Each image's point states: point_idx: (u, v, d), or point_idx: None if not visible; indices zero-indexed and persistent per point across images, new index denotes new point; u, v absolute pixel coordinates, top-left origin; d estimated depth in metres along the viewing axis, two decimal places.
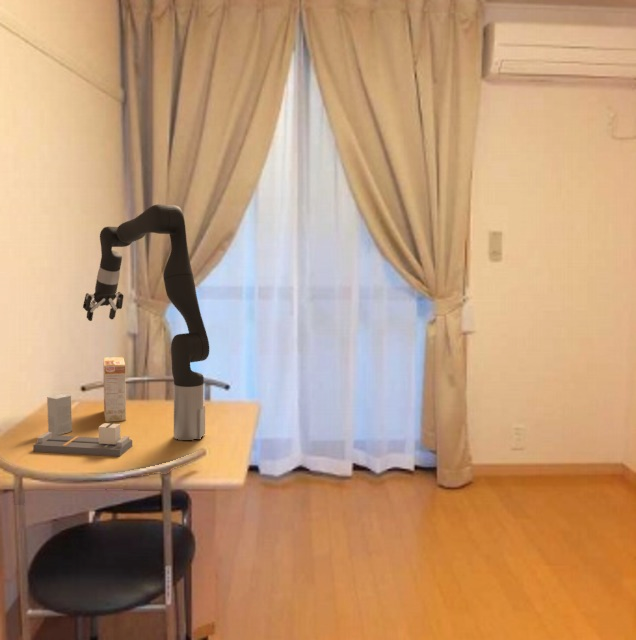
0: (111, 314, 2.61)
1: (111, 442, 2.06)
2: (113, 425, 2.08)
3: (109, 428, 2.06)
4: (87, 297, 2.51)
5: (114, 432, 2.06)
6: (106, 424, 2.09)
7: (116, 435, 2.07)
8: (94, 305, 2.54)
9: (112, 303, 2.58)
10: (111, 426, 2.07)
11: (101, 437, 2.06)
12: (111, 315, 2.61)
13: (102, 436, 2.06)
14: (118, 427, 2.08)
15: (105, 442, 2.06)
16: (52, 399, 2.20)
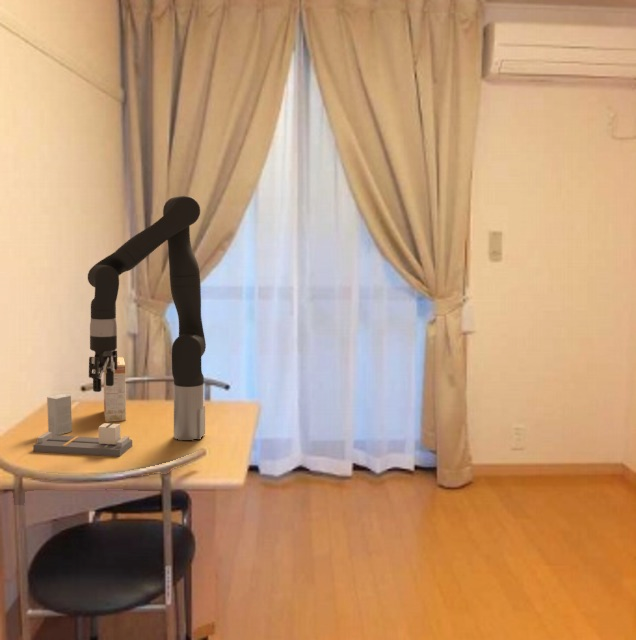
0: (110, 379, 2.10)
1: (111, 442, 2.06)
2: (113, 425, 2.08)
3: (109, 428, 2.06)
4: (94, 360, 1.99)
5: (114, 432, 2.06)
6: (106, 424, 2.09)
7: (116, 435, 2.07)
8: (100, 369, 2.02)
9: (112, 363, 2.08)
10: (111, 426, 2.07)
11: (101, 437, 2.06)
12: (110, 380, 2.10)
13: (102, 436, 2.06)
14: (118, 427, 2.08)
15: (105, 442, 2.06)
16: (52, 399, 2.20)
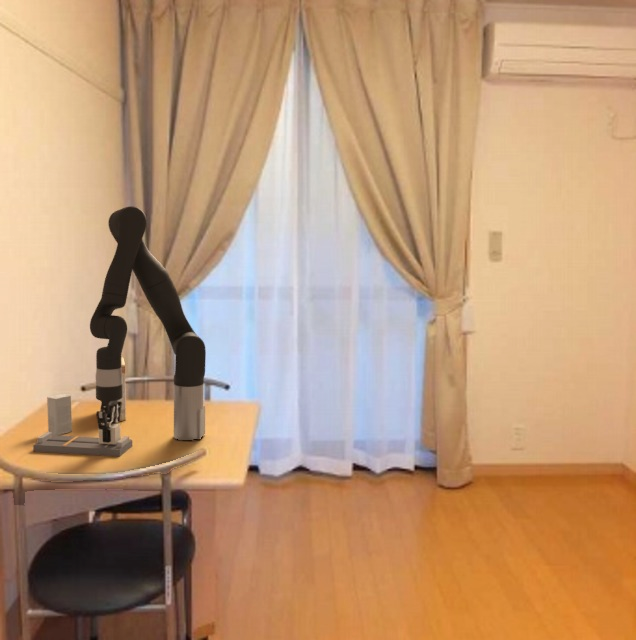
0: None
1: (111, 442, 2.06)
2: (113, 425, 2.08)
3: None
4: (101, 415, 2.01)
5: (114, 432, 2.06)
6: None
7: (116, 435, 2.07)
8: (109, 420, 2.05)
9: (117, 412, 2.09)
10: (111, 426, 2.07)
11: (101, 437, 2.06)
12: None
13: (102, 436, 2.06)
14: (118, 427, 2.08)
15: (105, 442, 2.06)
16: (52, 399, 2.20)
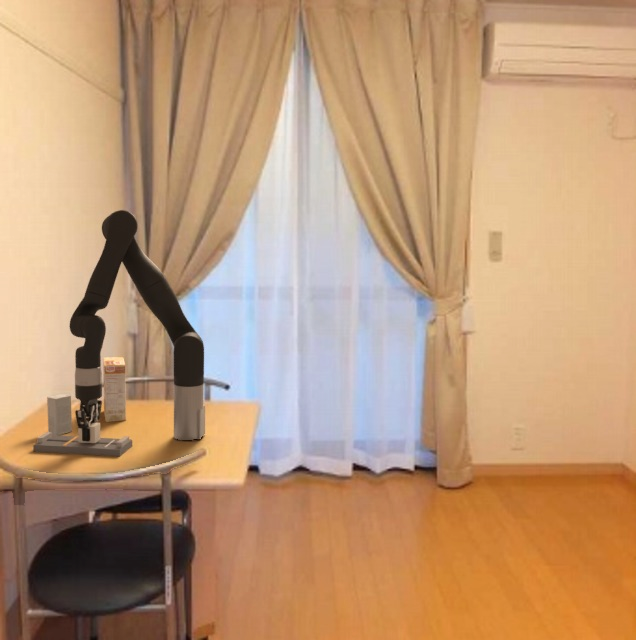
0: None
1: (91, 441, 2.07)
2: (93, 424, 2.08)
3: None
4: (80, 414, 2.01)
5: (93, 431, 2.06)
6: None
7: (96, 434, 2.07)
8: (88, 419, 2.05)
9: (97, 411, 2.09)
10: (91, 425, 2.07)
11: (81, 436, 2.07)
12: None
13: None
14: (98, 426, 2.08)
15: (85, 441, 2.07)
16: (52, 399, 2.20)
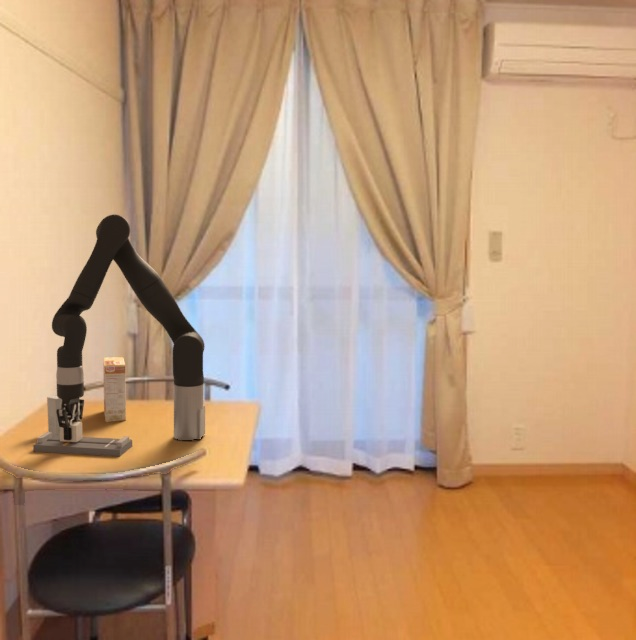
0: None
1: (72, 440, 2.07)
2: (74, 423, 2.09)
3: None
4: (62, 413, 2.02)
5: (75, 430, 2.07)
6: None
7: (77, 433, 2.08)
8: (69, 418, 2.06)
9: (79, 410, 2.10)
10: (72, 424, 2.08)
11: (62, 435, 2.07)
12: None
13: (63, 434, 2.07)
14: (79, 425, 2.09)
15: (66, 440, 2.07)
16: (52, 399, 2.20)
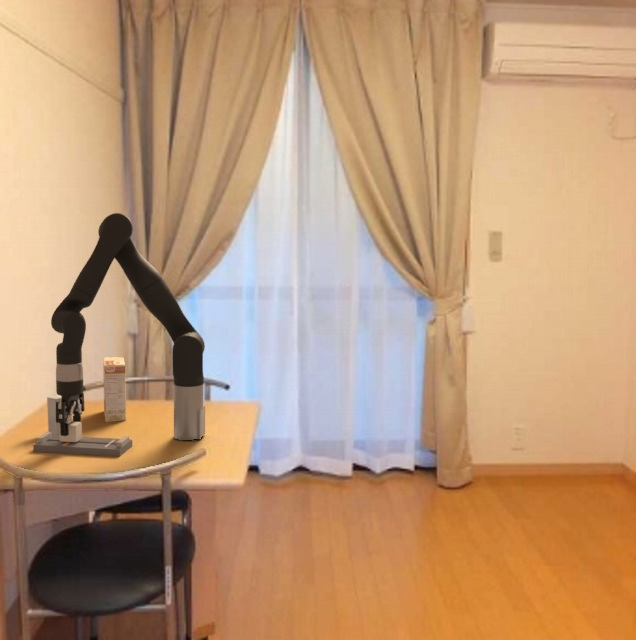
0: (77, 421, 2.12)
1: (72, 440, 2.07)
2: (74, 423, 2.09)
3: (70, 426, 2.07)
4: (61, 405, 2.01)
5: (75, 430, 2.07)
6: None
7: (77, 433, 2.08)
8: (67, 413, 2.04)
9: (79, 405, 2.10)
10: (72, 424, 2.08)
11: None
12: None
13: None
14: (79, 425, 2.09)
15: (66, 440, 2.07)
16: (52, 399, 2.20)
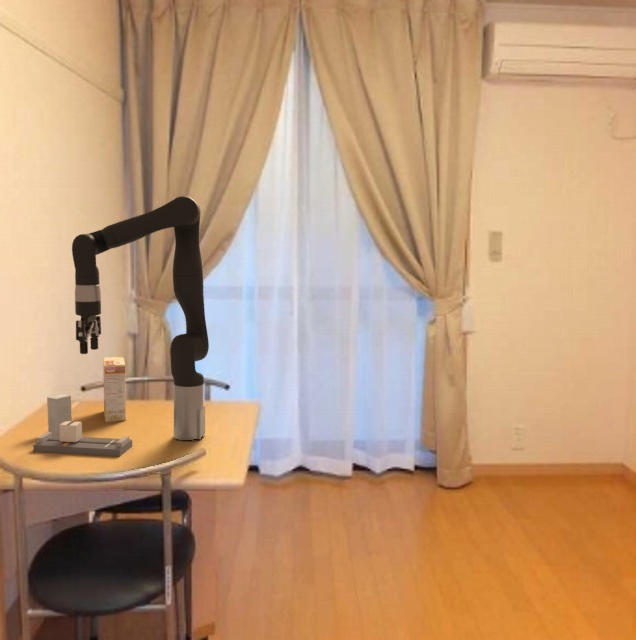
0: (94, 343, 2.22)
1: (72, 440, 2.07)
2: (74, 423, 2.09)
3: (70, 426, 2.07)
4: (81, 323, 2.10)
5: (75, 430, 2.07)
6: (67, 422, 2.10)
7: (77, 433, 2.08)
8: (87, 332, 2.14)
9: (97, 327, 2.20)
10: (72, 424, 2.08)
11: (62, 435, 2.07)
12: (95, 344, 2.22)
13: (63, 434, 2.07)
14: (79, 425, 2.09)
15: (66, 440, 2.07)
16: (52, 399, 2.20)
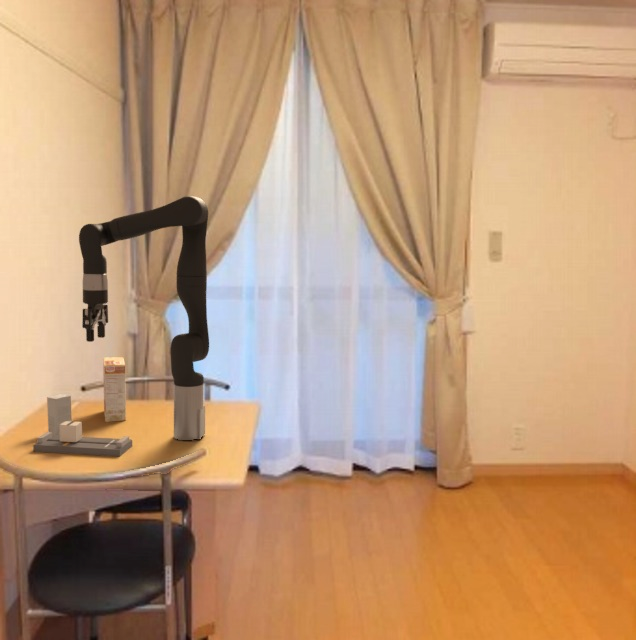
0: (101, 331, 2.26)
1: (72, 440, 2.07)
2: (74, 423, 2.09)
3: (70, 426, 2.07)
4: (87, 312, 2.15)
5: (75, 430, 2.07)
6: (67, 422, 2.10)
7: (77, 433, 2.08)
8: (93, 320, 2.18)
9: (104, 315, 2.24)
10: (72, 424, 2.08)
11: (62, 435, 2.07)
12: (102, 332, 2.26)
13: (63, 434, 2.07)
14: (79, 425, 2.09)
15: (66, 440, 2.07)
16: (52, 399, 2.20)
